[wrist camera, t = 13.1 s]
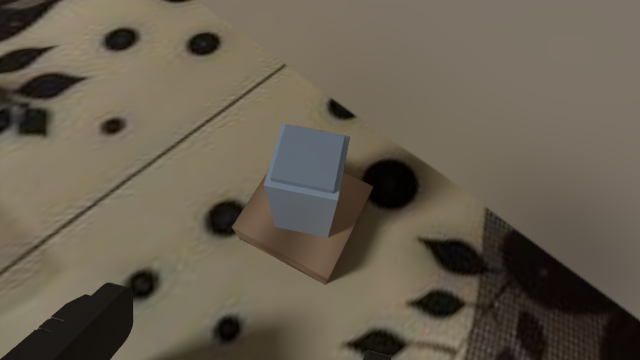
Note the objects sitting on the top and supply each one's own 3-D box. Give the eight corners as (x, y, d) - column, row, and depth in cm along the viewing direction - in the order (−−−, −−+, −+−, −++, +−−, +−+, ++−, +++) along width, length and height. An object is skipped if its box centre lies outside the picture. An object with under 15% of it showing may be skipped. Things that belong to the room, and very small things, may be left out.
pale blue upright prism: (337, 188, 33) (351, 131, 24) (327, 237, 31) (338, 197, 22) (287, 178, 34) (281, 118, 24) (275, 226, 32) (262, 182, 22)
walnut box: (364, 203, 38) (373, 186, 34) (324, 285, 35) (328, 278, 30) (287, 164, 40) (285, 143, 35) (240, 239, 36) (231, 227, 31)
